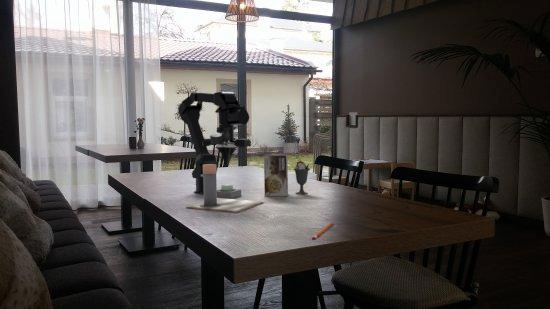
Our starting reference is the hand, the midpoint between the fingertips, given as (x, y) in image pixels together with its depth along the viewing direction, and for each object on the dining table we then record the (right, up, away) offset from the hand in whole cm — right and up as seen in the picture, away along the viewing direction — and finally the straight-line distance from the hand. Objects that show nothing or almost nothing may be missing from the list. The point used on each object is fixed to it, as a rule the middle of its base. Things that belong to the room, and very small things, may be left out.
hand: (226, 164), depth 174 cm
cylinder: (-3, -13, -21) cm, 25 cm away
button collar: (0, -12, +1) cm, 13 cm away
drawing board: (+1, -14, -17) cm, 22 cm away
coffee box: (+19, -12, +4) cm, 23 cm away
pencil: (+32, -17, -53) cm, 65 cm away
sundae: (+29, -12, +7) cm, 33 cm away
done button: (0, -10, +1) cm, 10 cm away
